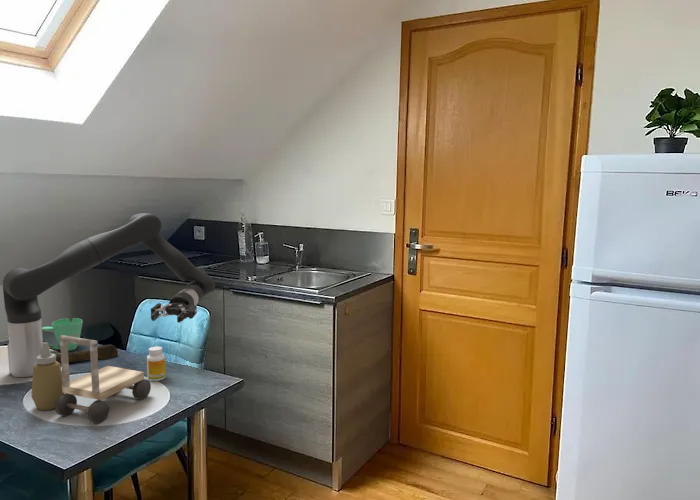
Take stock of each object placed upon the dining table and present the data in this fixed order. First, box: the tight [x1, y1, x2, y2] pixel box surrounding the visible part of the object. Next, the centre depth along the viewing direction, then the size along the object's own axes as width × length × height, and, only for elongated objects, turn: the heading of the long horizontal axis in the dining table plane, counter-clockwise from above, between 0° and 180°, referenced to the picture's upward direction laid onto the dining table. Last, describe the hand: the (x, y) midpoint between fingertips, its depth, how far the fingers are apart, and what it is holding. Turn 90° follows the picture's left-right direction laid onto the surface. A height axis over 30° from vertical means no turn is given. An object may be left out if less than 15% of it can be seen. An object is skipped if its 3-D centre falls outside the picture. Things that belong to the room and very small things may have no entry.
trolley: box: [54, 335, 152, 424], centre depth 153 cm, size 13×22×22 cm, turn 159°
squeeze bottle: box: [31, 341, 65, 411], centre depth 153 cm, size 8×8×18 cm
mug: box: [42, 317, 83, 352], centre depth 199 cm, size 15×10×10 cm
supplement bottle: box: [146, 345, 167, 382], centre depth 175 cm, size 5×5×10 cm
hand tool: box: [55, 344, 119, 365], centre depth 189 cm, size 19×4×5 cm, turn 118°
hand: (165, 319), depth 181 cm, fingers open, 8 cm apart
